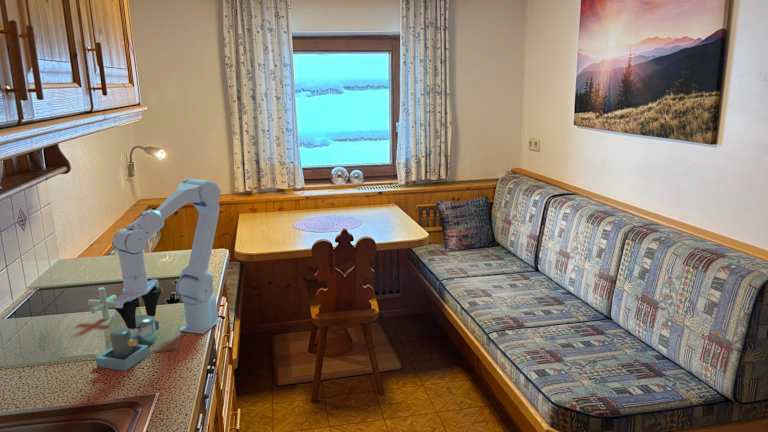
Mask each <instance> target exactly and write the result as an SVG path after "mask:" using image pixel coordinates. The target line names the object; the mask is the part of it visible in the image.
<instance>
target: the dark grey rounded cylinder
mask: <svg viewBox="0 0 768 432" xmlns="http://www.w3.org/2000/svg"><path fill="white" fill-rule="evenodd" d="M109 335H110V342H111V348H112V349H113V356H114V358H116V359H122V360H125V359H126V358H127V357H129V356H130V355H132V354H133V353H134V352H133V347H134V346H135V345H137V339H131V332H130V330H129V329H128V328H119V329H115V330H113V331H112V332H110V334H109Z"/></svg>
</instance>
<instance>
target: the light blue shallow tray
mask: <svg viewBox="0 0 768 432" xmlns="http://www.w3.org/2000/svg"><path fill="white" fill-rule="evenodd" d="M149 347H150V346H147V345H140V344H137V345H135V346H134V347H133V352H134V353H133V354H132V355H130V356H129V357H127V358H126V359H125V360H122V359H116V358H114V356H113V349H112V347H111V348H109V349H107V350H106V351H104V352H102V353H101V354H99V355H97V356H96V357H95V362H96V366H97V367H99V368H106V369H111V370H116V371H117V370H118V371H124V372H127V371H128V370H130V369H131V368H133V366H135V365H137V364H138V363H139V362H141V361H142V360H143V359H145V358H147V357H148V356H149V355H150V354H151V353H150V348H149Z"/></svg>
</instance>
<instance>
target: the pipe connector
mask: <svg viewBox="0 0 768 432" xmlns="http://www.w3.org/2000/svg"><path fill="white" fill-rule="evenodd" d="M97 290H98V297H99V299H92V298H91V299H88V300H87V305H88V306H92V307H90V308H89V311H90V313H92V314H95V313H97V312H98V311H99V310H101V314H102V319H103V320H104V321H106V320H109V319H110V313H109V307H110V308H114V300H115V299H117V298H118V296H117V295H116V294H112V295H109V296H108V297H107V294H106V288H105V287H103V286H102V287H101V286H100V287H99V288H97Z"/></svg>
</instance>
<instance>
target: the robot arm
mask: <svg viewBox="0 0 768 432" xmlns="http://www.w3.org/2000/svg"><path fill="white" fill-rule="evenodd" d="M221 193H222V190H221V189H220V187H219V186H218V184H217V182H215V181H213V180H210V179H209V180H205V179H204V180H203V179H198V178H196V179H195V178H192V177H188V178H185V179H184V180H183V181H182V182H180V183H179V184H178V185H177V188H176V190H175V191H174V192H172V194H171V195H169V196H168V197H167V198H166V199H165V200H164V201H163V202H162V203H160V205H159V206H158V207H157V208H155V209H148V210H144V211H142V212H141V215H140V216H139V217H138V218H137V219H136V220H134V221H133V222H132V223H129V224H128V225H127V227H126V228H121V229H119V230H117V232H115V234H114V236H113V239H112V241H111V246H112V247H113V249H114V250H116V251H117V256H118V258H119V265H120V270H121V277H122V282H123V288H122V293H120V295H119V296H117V299H115V300H114V307H113V309H114V310H115V311H116V312H117V313H118V314H119V315H120V316H121V318H122V320H123V322H124V324H125V325H126V329H135V328H136V320H135V316H136V310H137V304H132V303H131V302H132V301H134V300H136V299H137V298H139V297H141V298H142V301H143V303H144V309H145V313H146V315H147V316H153V317H154V318H155V316H156V313H157V312H156V311H157V305H158V301H159V298H160V296H161V293H162V291H161V288H159V287H160V283H159V279H150V280H148V277H147V271H146V270H147V269H146V263H145V257H144V250H145V249H146V246H147V243H148V241H149V240H150V239H151V238H152V237H153V236H154V235H155V234H156V233H157V232H159V231H160V230H161V229H162V228H163V227H164V225H165V219H167V218H168V217H170V216H171V215H172V214H173V213H175V212H176V211H178V210H180V208H182V207H183V206H184V205H186V204H191V205H193V207H195V209H196V211H197V212H198V216H197V217H198V218H197V223H196V227H195V232H194V237H193V242H192V246H191V252H190V256H189V262H188V265H187V266H186V267H185V268H183V269H182V270H181V273H180V276H179V278H178V280H177V281H176V284H175V291H176V293H177V294H178V295H179V296H181V297H180V298H181V300H182V303H183V311H184V318H185V325H184V326H183V327H181V328H180V329H179V331H180V332H185V333H191V334H192V333H194V334H202V335H203V334H205V333H206V332H208V331H209V330H210V329H212V328H213V327H214V326H215V325H217V324H218V323H219V322H221V318H219V313H218V305H217V300H216V298H215V296H214V295H213V294H214V275H213V274H212V273H211V271H210V269H209V265H210V261H211V256H212V251H213V247H214V241H215V240H214V239H215V237H216V236H215V235H216V230H217V226H218V220H219V215H220V211H221V208H220V198H221Z"/></svg>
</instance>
